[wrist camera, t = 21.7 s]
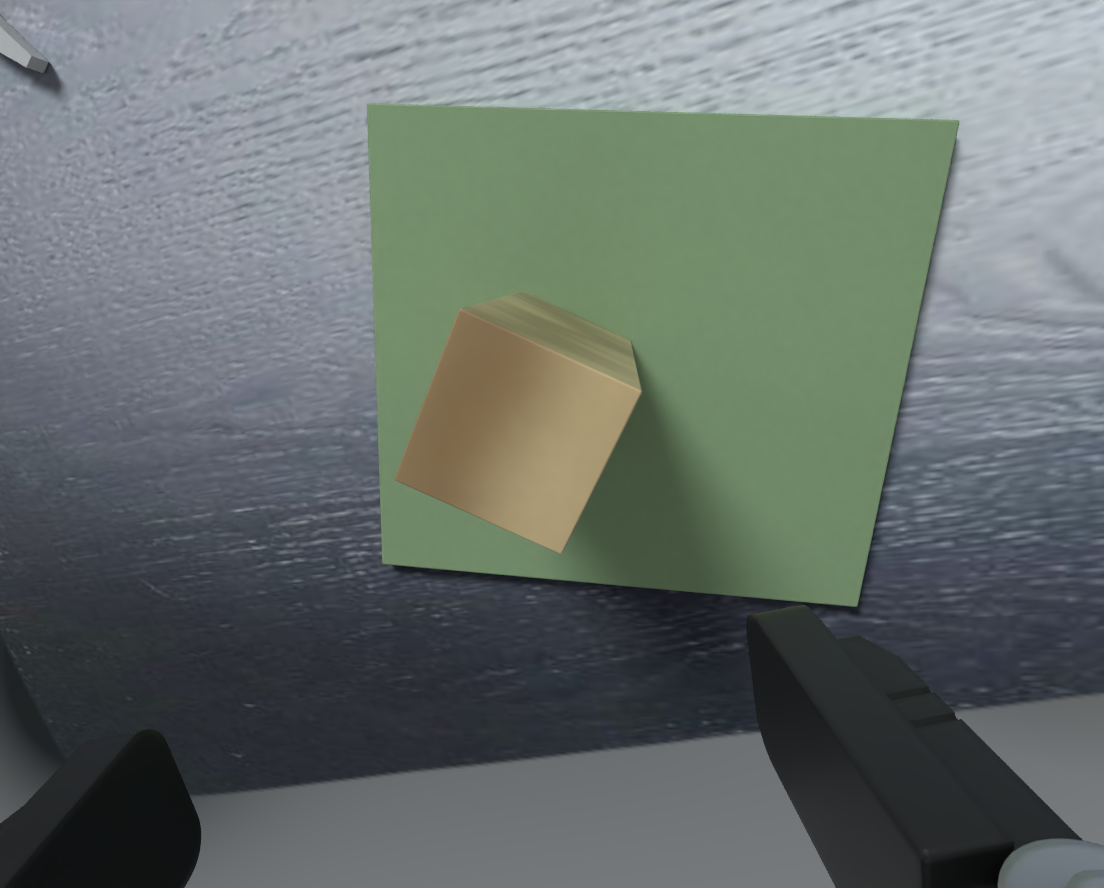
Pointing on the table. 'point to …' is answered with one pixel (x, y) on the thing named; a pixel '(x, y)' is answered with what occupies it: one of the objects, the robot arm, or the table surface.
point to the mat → (669, 325)
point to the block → (522, 416)
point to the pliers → (19, 48)
